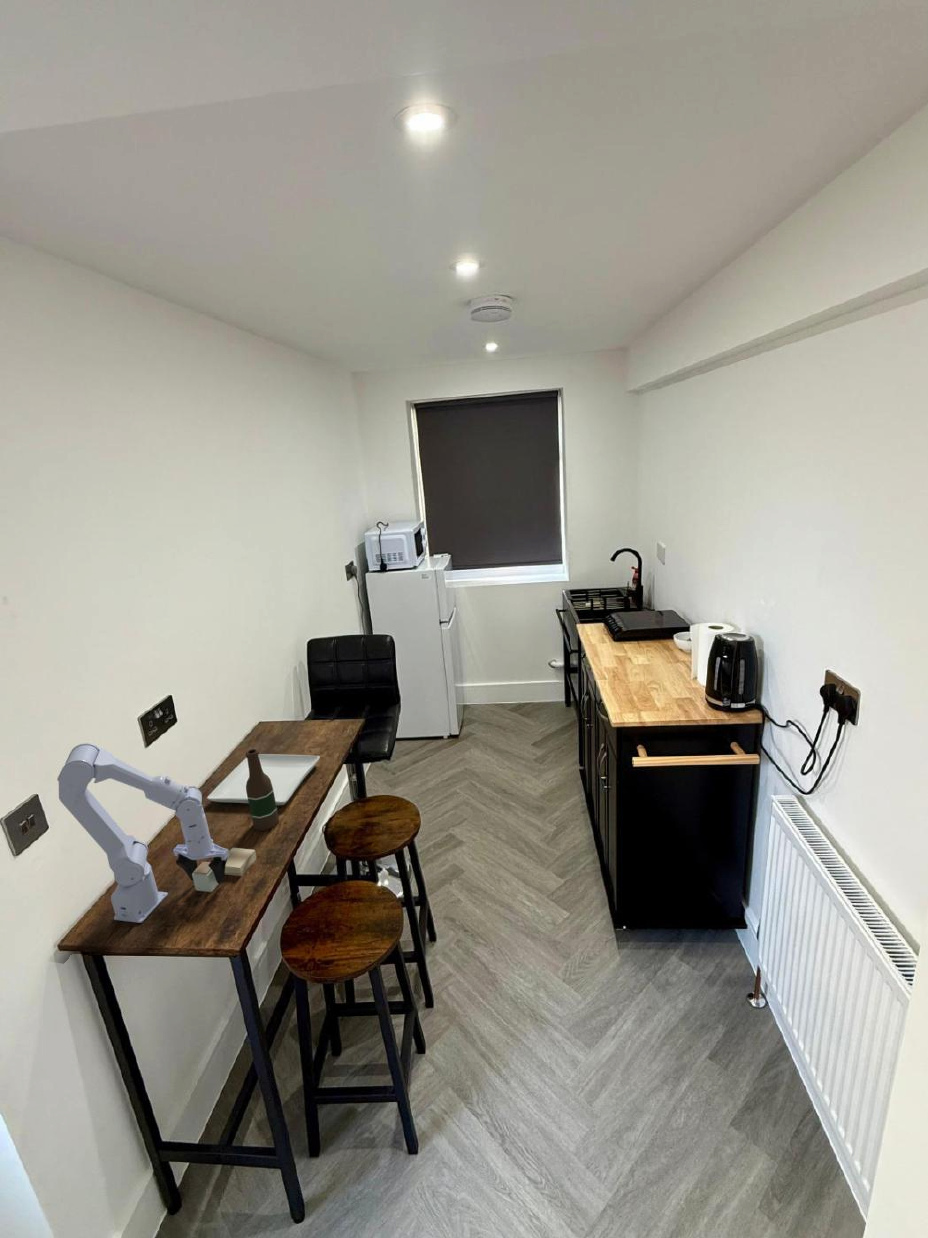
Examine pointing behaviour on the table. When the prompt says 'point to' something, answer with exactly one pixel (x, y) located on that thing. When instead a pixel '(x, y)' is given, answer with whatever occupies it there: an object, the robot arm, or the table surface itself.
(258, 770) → the beer bottle
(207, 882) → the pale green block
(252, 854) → the base block
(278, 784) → the square plate
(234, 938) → the table surface
